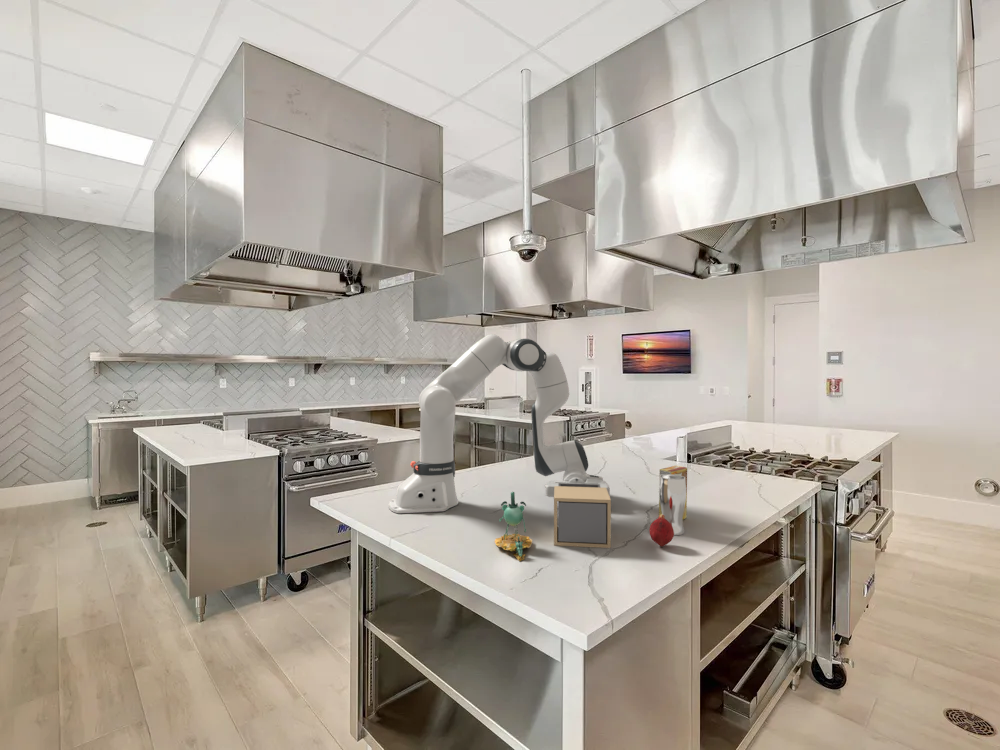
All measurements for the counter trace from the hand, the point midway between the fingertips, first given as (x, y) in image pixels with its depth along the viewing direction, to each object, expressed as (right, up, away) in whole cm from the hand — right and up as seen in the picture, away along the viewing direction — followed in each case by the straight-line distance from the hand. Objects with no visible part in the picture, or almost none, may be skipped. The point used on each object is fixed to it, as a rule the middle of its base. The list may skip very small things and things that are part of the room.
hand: (578, 496), depth 143 cm
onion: (+17, -6, -26) cm, 31 cm away
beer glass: (+23, -6, -15) cm, 28 cm away
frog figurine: (-21, -6, -26) cm, 34 cm away
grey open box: (-2, -5, -16) cm, 17 cm away
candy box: (+27, -6, -5) cm, 28 cm away
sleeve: (-2, -6, -20) cm, 21 cm away
